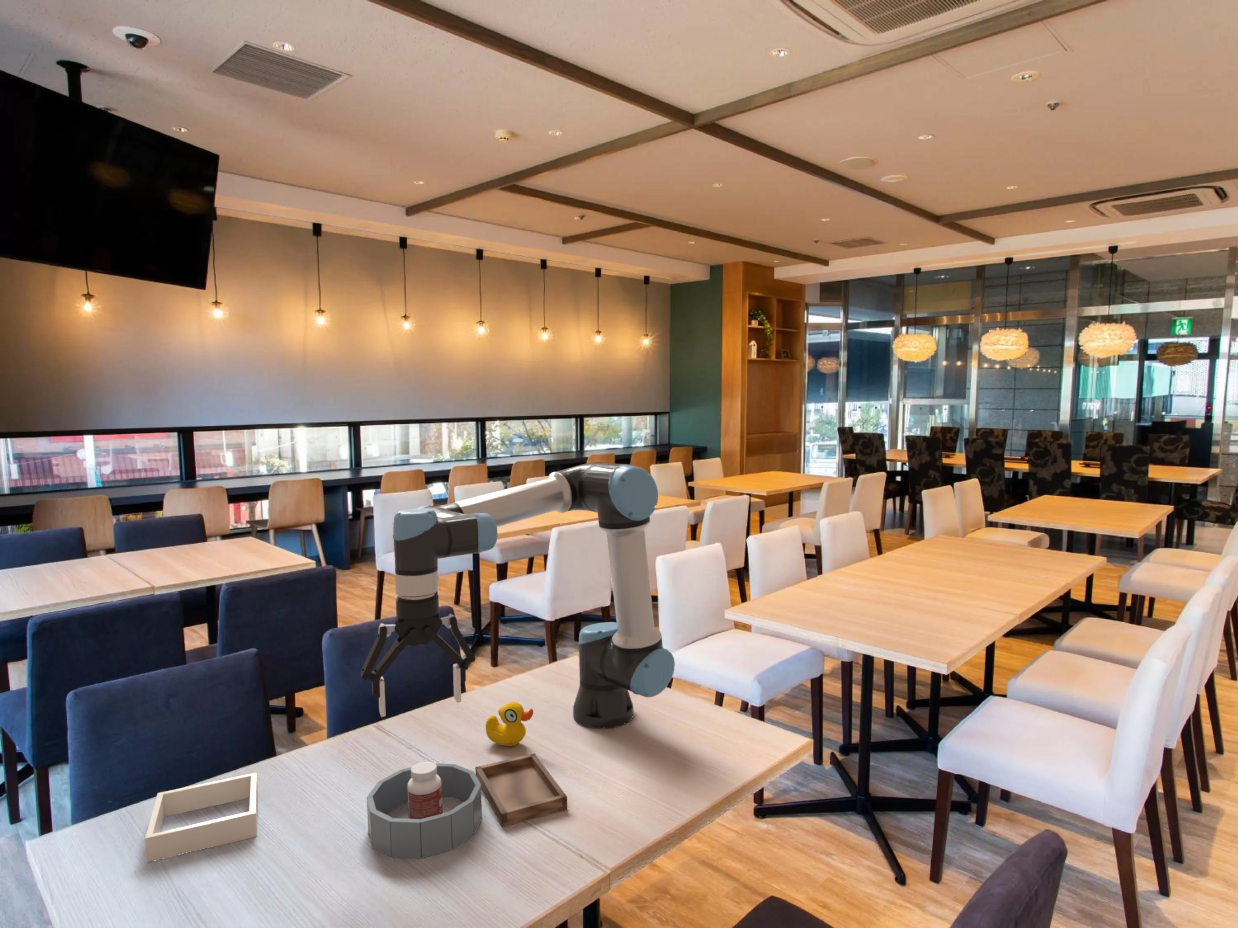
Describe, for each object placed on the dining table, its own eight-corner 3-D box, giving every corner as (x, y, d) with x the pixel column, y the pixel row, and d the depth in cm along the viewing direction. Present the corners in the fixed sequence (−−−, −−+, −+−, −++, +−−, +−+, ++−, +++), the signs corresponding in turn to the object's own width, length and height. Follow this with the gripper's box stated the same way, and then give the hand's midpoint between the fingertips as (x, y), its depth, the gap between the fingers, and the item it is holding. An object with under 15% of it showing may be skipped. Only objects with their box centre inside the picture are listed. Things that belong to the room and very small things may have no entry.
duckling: (537, 740, 167) (536, 699, 166) (530, 752, 162) (529, 709, 161) (491, 737, 169) (489, 696, 168) (482, 747, 164) (481, 705, 163)
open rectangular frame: (258, 793, 146) (256, 772, 145) (256, 836, 132) (255, 812, 131) (159, 815, 139) (157, 792, 138) (146, 862, 124) (144, 838, 124)
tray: (534, 764, 156) (534, 753, 156) (567, 809, 139) (567, 796, 139) (475, 778, 151) (475, 767, 150) (502, 826, 134) (501, 813, 133)
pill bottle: (447, 826, 134) (445, 769, 133) (415, 837, 131) (412, 779, 130) (436, 810, 139) (434, 755, 138) (404, 821, 136) (402, 764, 135)
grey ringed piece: (465, 785, 148) (464, 754, 148) (492, 837, 130) (491, 803, 130) (363, 810, 140) (362, 778, 139) (377, 870, 122) (375, 833, 121)
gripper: (479, 581, 140) (481, 687, 142) (342, 597, 129) (347, 711, 131) (489, 590, 133) (492, 701, 135) (346, 608, 122) (351, 728, 124)
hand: (420, 706), depth 133 cm, fingers open, 13 cm apart
